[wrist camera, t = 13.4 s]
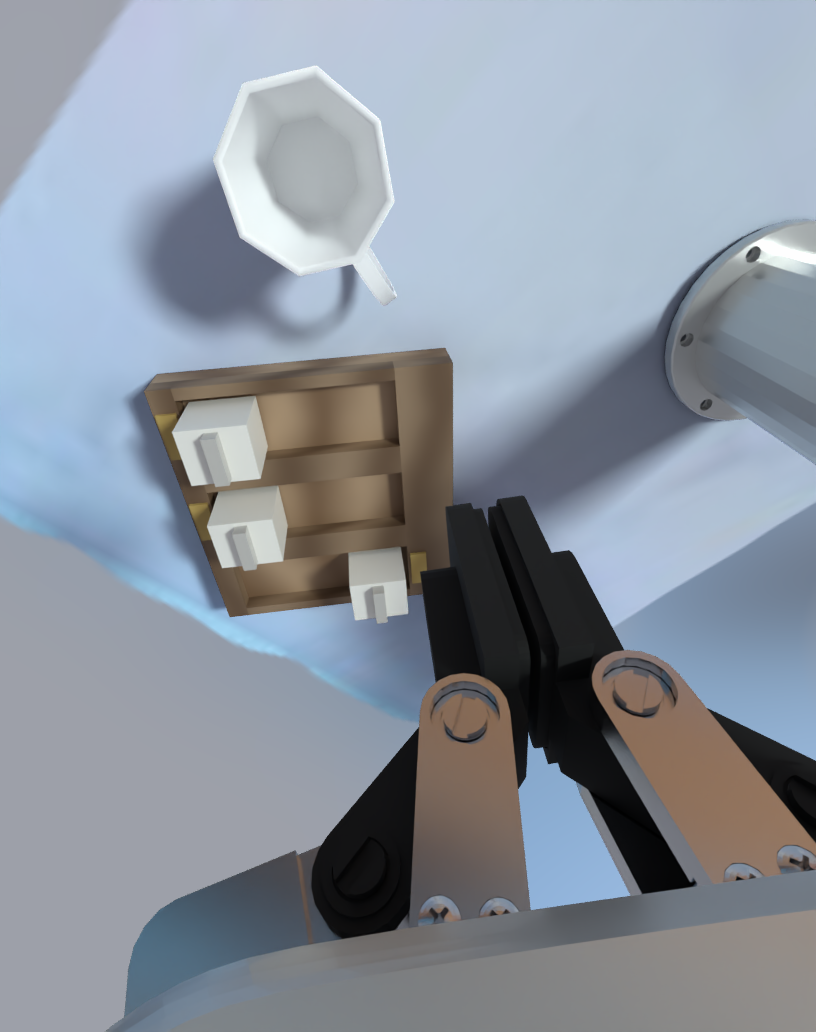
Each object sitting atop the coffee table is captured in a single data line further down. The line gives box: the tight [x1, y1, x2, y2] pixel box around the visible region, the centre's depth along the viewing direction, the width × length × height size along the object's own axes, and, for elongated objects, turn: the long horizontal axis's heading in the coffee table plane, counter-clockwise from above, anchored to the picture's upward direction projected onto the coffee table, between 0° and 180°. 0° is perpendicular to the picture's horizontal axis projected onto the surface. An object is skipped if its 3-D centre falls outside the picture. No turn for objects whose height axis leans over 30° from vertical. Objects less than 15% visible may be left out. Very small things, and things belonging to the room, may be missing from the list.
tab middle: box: [207, 485, 288, 571], centre depth 34 cm, size 4×4×5 cm
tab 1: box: [172, 396, 268, 487], centre depth 30 cm, size 4×4×5 cm
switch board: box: [144, 348, 453, 617], centre depth 37 cm, size 18×19×3 cm
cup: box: [213, 66, 397, 306], centre depth 24 cm, size 7×10×8 cm
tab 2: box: [348, 547, 408, 624], centre depth 39 cm, size 4×4×5 cm
